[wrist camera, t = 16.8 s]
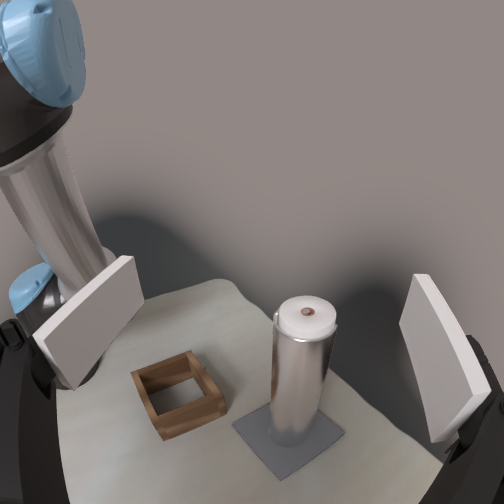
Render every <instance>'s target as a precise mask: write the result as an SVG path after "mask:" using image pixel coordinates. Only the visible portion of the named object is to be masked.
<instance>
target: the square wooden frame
mask: <svg viewBox="0 0 504 504" xmlns="http://www.w3.org/2000/svg"><path fill="white" fill-rule="evenodd" d="M131 375H132V378H133V380H134V383H135V385H136V388H137V390H138V392H139V395H140V397H141V400H142V402H143V404H144V406H145V409H146V411H147V413H148V415H149V417H150V420H151V422H152V424H153V425H154V427H155V429H156V430H157V432H158V433H159V435H160V436H161V438H162V439H163V441H166V440H168V439H171V438H173V437H176V436H178V435H181V434H183V433H186V432H188V431H190V430H193V429H195V428H197V427H200V426H202V425H204V424H206V423H208V422H211V421H213V420H215V419H217V418H219V417H221V416H223V415H225V414H227V412H226V406H225V401H224V396H223V394H222V392H221V391H220V390H219V389H218V387H217V386H216V385H215V383H214V382H213V381H212V379H211V378H210V377H209V375H208V374H207V373H206V371H205V370H204V368H203V367H202V366H201V364H200V363H199V361H198V360H197V359H196V357H195V356H194V354H193V353H192V351H191V350H190V351H187V352H184V353H182V354H179V355H177V356H174V357H172V358H169V359H166V360H164V361H161V362H158V363H156V364H153V365H150V366H147V367H145V368H142V369H139V370H136V371H133V372H131ZM192 377H193V378H194V379H195V381H196V382H197V384H198V385H199V387H200V388H201V390H202V391H203V393H204V394H205V397H202V398H200V399H198V400H196V401H193V402H191V403H189V404H186V405H184V406H181V407H179V408H176V409H174V410H172V411H169V412H166V413H164V414H161V415H159V416H158V415H157V413H156V411H155V408H154V406H153V404H152V402H151V400H150V398H149V396H148V395H149V394H151V393H154V392H157V391H159V390H162V389H165V388H167V387H170V386H172V385H175V384H177V383H180V382H182V381H185V380H187V379H190V378H192Z"/></svg>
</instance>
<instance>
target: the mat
mask: <svg viewBox="0 0 504 504" xmlns="http://www.w3.org/2000/svg"><path fill="white" fill-rule="evenodd" d="M270 404H271V402H270V403H269V404H267V405H265V406H263V407H262V408H260V409H258V410H256V411H254V412H253V413H251V414H249V415H247V416H245V417H243V418H241V419H239V420H238V421H236V422H234V423H232V425H233V427H234V428H235V429H236V430H237V432H238V433H239V434H240V435H241V437H242V438H243V439H244V440H245V441H246V443H247V444H248V445H249V446H250V447H251V449H252V450H253V451H254V452H255V453H256V454H257V456H258V457H259V458H260V459H261V460H262V461H263V462H264V463H265V465H266V466H267V467H268V468H269V469H270V470H271V471H272V472H273V473H274V474H275V475H276V477H277V478H278V479H279V480H280V481H281V480H283V479H284V478H286V477H287V476H289V475H290V474H292V473H293V472H295V471H296V470H298V469H299V468H301V467H302V466H304V465H305V464H306V463H308V462H309V461H311V460H312V459H313V458H315V457H316V456H317V455H319V454H320V453H321V452H323V451H324V450H325V449H327V448H328V447H329V446H330V445H332V444H333V443H334V442H335V441H337V440H338V439H339V438H340V437H341V436H343V435H344V434H345V432H344V431H343V430H341V429H340V428H339V427H338V426H337V425H335V424H334V423H333V422H332V421H331V420H330V419H328V418H327V417H326V416H325V415H324V414H323V413H321V412H320V411H319V410H318V409H317V410H316V414H315V417H314V420H313V424H312V427H311V430H310V433H309V436H308V438H307V439H306V440H305V442H304V443H302V444H301V445H299V446H296V447H290V448H287V447H282V446H279V445H277V444H276V443H274V442H273V441H272V440H271V438H270V436H269V425H270Z"/></svg>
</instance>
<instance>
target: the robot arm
mask: <svg viewBox="0 0 504 504" xmlns="http://www.w3.org/2000/svg"><path fill="white" fill-rule="evenodd" d="M84 60H85V49H84V42H83V36H82V30H81V25H80V21H79V17H78V14H77V11H76V8H75V6H74V4H73V1H72V0H9V1H7V2H5V3H3V4H2V5H0V188H1V190H2V192H3V194H4V196H5V198H6V200H7V201H8V203H9V205H10V207H11V209H12V210H13V212H14V214H15V215H16V217H17V219H18V221H19V222H20V224H21V225H22V227H23V229H24V230H25V232H26V233H27V235H28V236H29V238H30V239H31V241H32V242H33V244H34V245H35V247H36V248H37V250H38V251H39V252H40V254H41V255H42V257H43V258H44V260H45V261H46V262H45V263H41V264H38V265H36V266H34V267H32V268H30V269H28V270H27V271H25V272H24V273H22V274H21V275H20V276H19V277H18V278H17V279H16V280H15V281H14V282H13V284H12V285H11V287H10V290H9V298H10V301H11V304H12V307H13V309H14V312H15V314H16V316H17V318H18V320H19V321H18V320H17V319H9V320H7V321H5V322H3V323H2V324H1V325H0V504H70V502H69V498H68V493H67V489H66V484H65V479H64V474H63V468H62V462H61V455H60V447H59V437H58V426H57V408H56V388H57V389H62V390H68V389H72V390H74V391H75V390H76V388H77V387H78V386H80V385H82V384H84V383H85V382H87V381H88V380H89V379H90V378H91V377H92V376H93V374H94V373H95V371H96V369H97V367H98V363H99V358H100V357H101V355H102V354H103V353H104V352H105V350H106V349H107V348H108V347H109V345H110V344H111V343H112V342H113V340H114V339H115V338H116V337H117V335H118V334H119V333H120V332H121V330H122V329H123V328H124V327H125V325H126V324H127V323H128V322H129V321H130V320H131V319H133V318H134V317H135V315H136V312H137V311H138V310H139V309H140V307H141V306H142V305H143V304H144V303H145V301H144V297H143V294H142V290H141V286H140V282H139V278H138V274H137V270H136V265H135V261H134V257H133V256H121V257H118V258H116V257H115V256H114V254H113V253H112V252H111V251H109V250H108V249H106V248H104V247H102V246H101V245H100V242H99V240H98V237H97V235H96V232H95V230H94V228H93V225H92V223H91V220H90V217H89V215H88V212H87V209H86V207H85V204H84V201H83V198H82V196H81V193H80V190H79V187H78V184H77V181H76V178H75V174H74V171H73V168H72V165H71V161H70V158H69V154H68V151H67V147H66V143H65V139H64V135H63V130H64V129H65V127H66V126H67V124H68V123H69V121H70V119H71V117H72V115H73V107H72V104H73V103H74V102H75V101H77V100H78V99H79V98H80V97H81V95H82V93H83V90H84V86H85V78H86V69H85V63H84ZM399 325H400V327H401V330H402V333H403V336H404V339H405V342H406V345H407V348H408V351H409V355H410V358H411V361H412V365H413V368H414V371H415V375H416V378H417V382H418V386H419V390H420V393H421V397H422V401H423V406H424V409H425V414H426V419H427V423H428V428H429V433H430V439H431V443H434V442H439V441H443V440H448V439H450V438H451V437H452V436H453V435H454V434H455V433H456V432H457V431H458V433H459V439H457V440H456V441H455V442H454V443H453V444H452V445H451V446H450V447H449V448H448V449H447V450H446V451H445V453H446V454H447V453H448V452H449V451H450V450H451V452H450V454H449V456H448V457H447V459H446V461H445V463H444V465H443V466H442V468H441V470H440V472H439V473H438V475H437V477H436V478H435V480H434V481H433V483H432V485H431V486H430V488H429V489H428V491H427V492H426V494H425V495H424V497H423V498H422V500H421V501H420V502H419V504H504V393H503V391H502V389H501V387H500V385H499V382H498V380H497V378H496V376H495V374H494V372H493V369H492V367H491V365H490V363H488V359H487V357H486V355H484V352H483V350H482V348H481V346H480V344H479V343H478V342H477V341H476V340H475V339H474V338H473V337H472V336H471V335H465V334H464V332H463V331H462V329H461V327H460V325H459V323H458V322H457V320H456V318H455V316H454V315H453V313H452V311H451V310H450V308H449V306H448V305H447V303H446V301H445V300H444V298H443V296H442V295H441V293H440V292H439V290H438V289H437V287H436V286H435V284H434V283H433V281H432V279H431V278H430V277H429V275H428V274H414V275H413V279H412V283H411V286H410V290H409V293H408V297H407V300H406V303H405V307H404V310H403V313H402V316H401V320H400V322H399ZM22 327H23V328H22ZM23 329H24V330H23ZM24 331H25V332H24ZM25 333H26V334H25ZM26 335H27V336H26Z"/></svg>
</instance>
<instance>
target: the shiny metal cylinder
mask: <svg viewBox="0 0 504 504" xmlns="http://www.w3.org/2000/svg"><path fill="white" fill-rule="evenodd" d="M335 320H336V311H335V309H334V307H333V306H332V305H331V304H330V303H329V302H327V301H326V300H323V299H320V298H318V297H314V296H298V297H293V298H291V299H288V300H287V301H285V302H284V303H283V304H282V305H281V307H280V308H278V309H277V310H276V312H275V313H274V323H273V351H272V380H271V404H270V425H269V436H270V438H271V440H272V441H273V442H274V443H276V444H277V445H279V446H282V447H287V448H290V447H296V446H299V445H301V444H302V443H304V442H305V440H306V439H307V438H308V436H309V433H310V430H311V427H312V424H313V420H314V417H315V414H316V410H317V407H318V404H319V400H320V397H321V393H322V389H323V386H324V382H325V378H326V374H327V370H328V366H329V362H330V358H331V353H332V349H333V345H334V340H335V335H336V331H337V324H335Z"/></svg>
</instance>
